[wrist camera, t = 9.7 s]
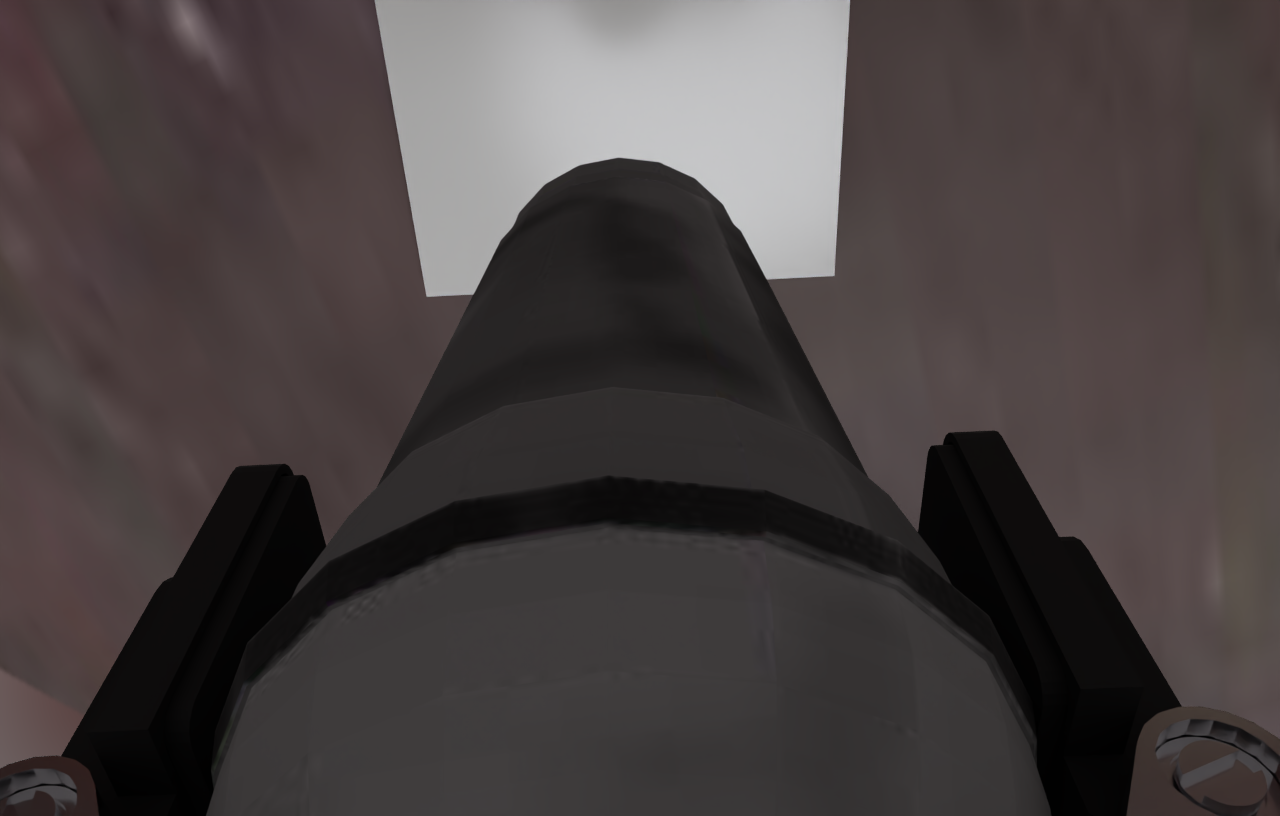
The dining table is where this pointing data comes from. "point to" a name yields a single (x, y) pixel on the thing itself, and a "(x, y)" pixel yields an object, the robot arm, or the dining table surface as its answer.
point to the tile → (617, 114)
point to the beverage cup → (626, 569)
